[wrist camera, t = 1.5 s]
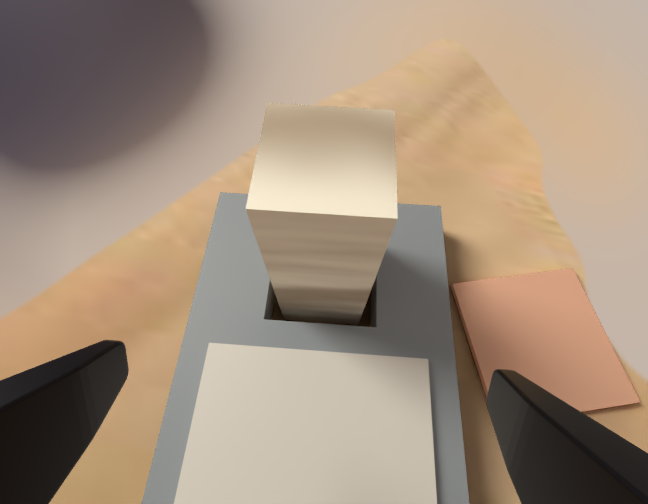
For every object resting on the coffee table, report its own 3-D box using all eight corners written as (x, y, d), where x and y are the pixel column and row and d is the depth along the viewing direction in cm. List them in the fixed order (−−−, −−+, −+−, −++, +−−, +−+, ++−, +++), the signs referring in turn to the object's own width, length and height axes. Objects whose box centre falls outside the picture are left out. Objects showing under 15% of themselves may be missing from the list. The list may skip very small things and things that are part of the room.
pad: (634, 402, 19) (640, 402, 19) (495, 425, 18) (498, 425, 18) (568, 270, 23) (572, 267, 22) (450, 285, 22) (452, 283, 22)
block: (358, 324, 21) (397, 218, 10) (284, 319, 21) (245, 208, 10) (359, 257, 23) (394, 110, 12) (292, 253, 23) (267, 103, 12)
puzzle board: (462, 654, 15) (493, 704, 12) (135, 623, 15) (96, 664, 12) (429, 226, 24) (442, 202, 21) (229, 213, 24) (218, 188, 22)
